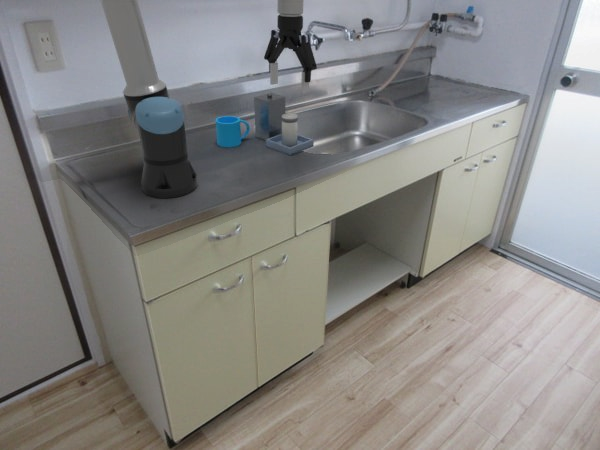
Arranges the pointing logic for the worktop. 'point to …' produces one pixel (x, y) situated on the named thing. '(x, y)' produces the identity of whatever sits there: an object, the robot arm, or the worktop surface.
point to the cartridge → (289, 129)
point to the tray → (277, 145)
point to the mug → (229, 131)
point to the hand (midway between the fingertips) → (289, 88)
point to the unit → (268, 115)
